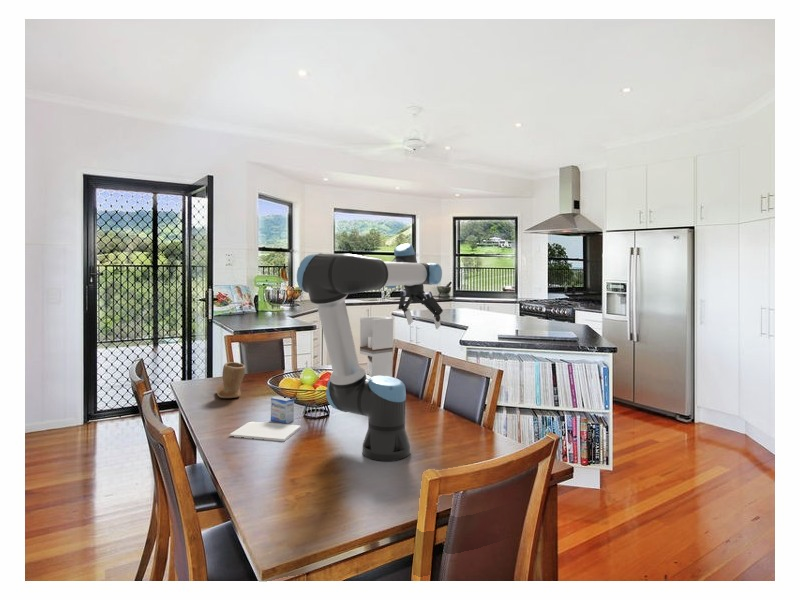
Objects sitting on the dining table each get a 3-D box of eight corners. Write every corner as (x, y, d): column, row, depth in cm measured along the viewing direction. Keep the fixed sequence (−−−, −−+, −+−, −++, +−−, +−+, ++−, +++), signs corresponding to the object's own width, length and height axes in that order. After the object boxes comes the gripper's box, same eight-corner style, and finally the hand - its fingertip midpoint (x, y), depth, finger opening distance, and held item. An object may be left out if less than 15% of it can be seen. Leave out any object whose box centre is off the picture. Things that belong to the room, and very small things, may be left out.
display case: (378, 387, 232) (379, 316, 229) (392, 391, 224) (393, 318, 221) (359, 390, 224) (360, 317, 222) (372, 395, 216) (373, 319, 214)
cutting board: (284, 441, 157) (284, 439, 157) (229, 436, 161) (229, 434, 161) (300, 427, 171) (300, 425, 171) (250, 423, 174) (249, 421, 174)
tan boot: (246, 398, 207) (246, 365, 206) (217, 401, 202) (217, 366, 201) (243, 390, 221) (243, 358, 220) (216, 392, 216) (216, 360, 215)
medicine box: (270, 420, 178) (270, 398, 178) (278, 417, 182) (278, 395, 182) (286, 424, 175) (286, 401, 174) (294, 420, 179) (294, 398, 178)
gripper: (444, 278, 181) (454, 323, 191) (392, 274, 195) (404, 316, 206) (434, 289, 176) (446, 334, 186) (382, 283, 190) (395, 326, 201)
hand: (424, 325), depth 196 cm, fingers open, 13 cm apart
